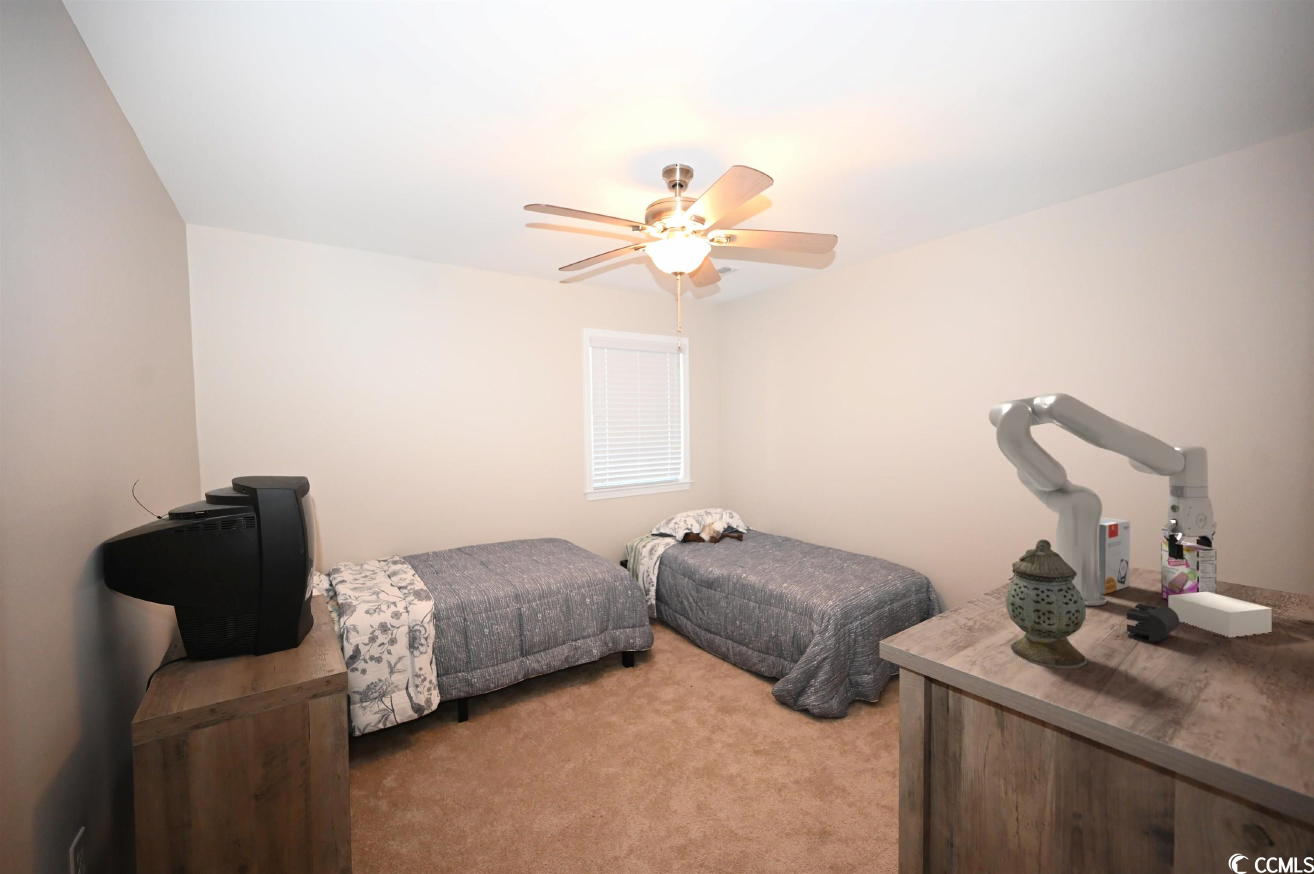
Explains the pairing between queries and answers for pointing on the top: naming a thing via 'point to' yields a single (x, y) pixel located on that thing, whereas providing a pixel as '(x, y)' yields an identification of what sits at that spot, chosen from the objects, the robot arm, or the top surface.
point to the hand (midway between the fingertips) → (1190, 556)
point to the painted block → (1221, 614)
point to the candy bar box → (1188, 570)
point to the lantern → (1045, 608)
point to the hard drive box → (1113, 554)
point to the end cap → (1151, 622)
